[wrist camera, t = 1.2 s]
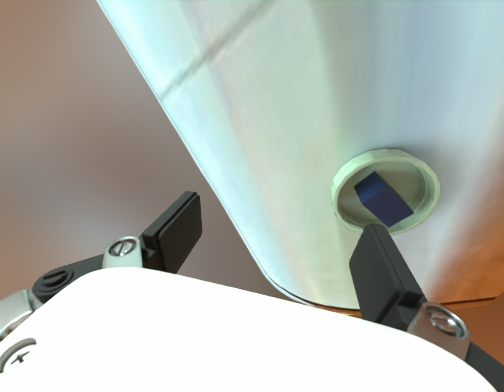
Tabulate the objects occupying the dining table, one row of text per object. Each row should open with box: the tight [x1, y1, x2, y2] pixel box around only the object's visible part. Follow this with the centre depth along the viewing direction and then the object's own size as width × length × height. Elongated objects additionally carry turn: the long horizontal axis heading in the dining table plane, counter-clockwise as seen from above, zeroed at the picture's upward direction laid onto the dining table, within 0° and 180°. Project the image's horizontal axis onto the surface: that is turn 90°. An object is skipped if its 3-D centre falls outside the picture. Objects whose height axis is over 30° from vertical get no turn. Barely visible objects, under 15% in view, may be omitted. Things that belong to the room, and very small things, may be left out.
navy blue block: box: [354, 171, 414, 228], centre depth 36 cm, size 5×7×6 cm, turn 52°
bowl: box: [330, 148, 441, 236], centre depth 37 cm, size 16×16×4 cm
